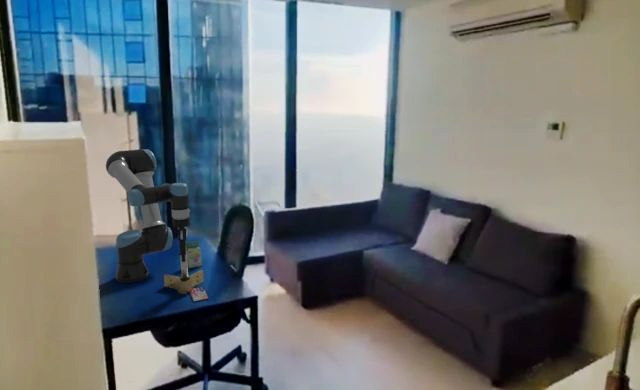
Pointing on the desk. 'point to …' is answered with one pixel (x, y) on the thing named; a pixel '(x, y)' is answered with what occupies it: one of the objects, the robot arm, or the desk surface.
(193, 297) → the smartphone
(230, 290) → the desk surface
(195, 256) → the ink box
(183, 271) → the pin
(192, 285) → the hinge
